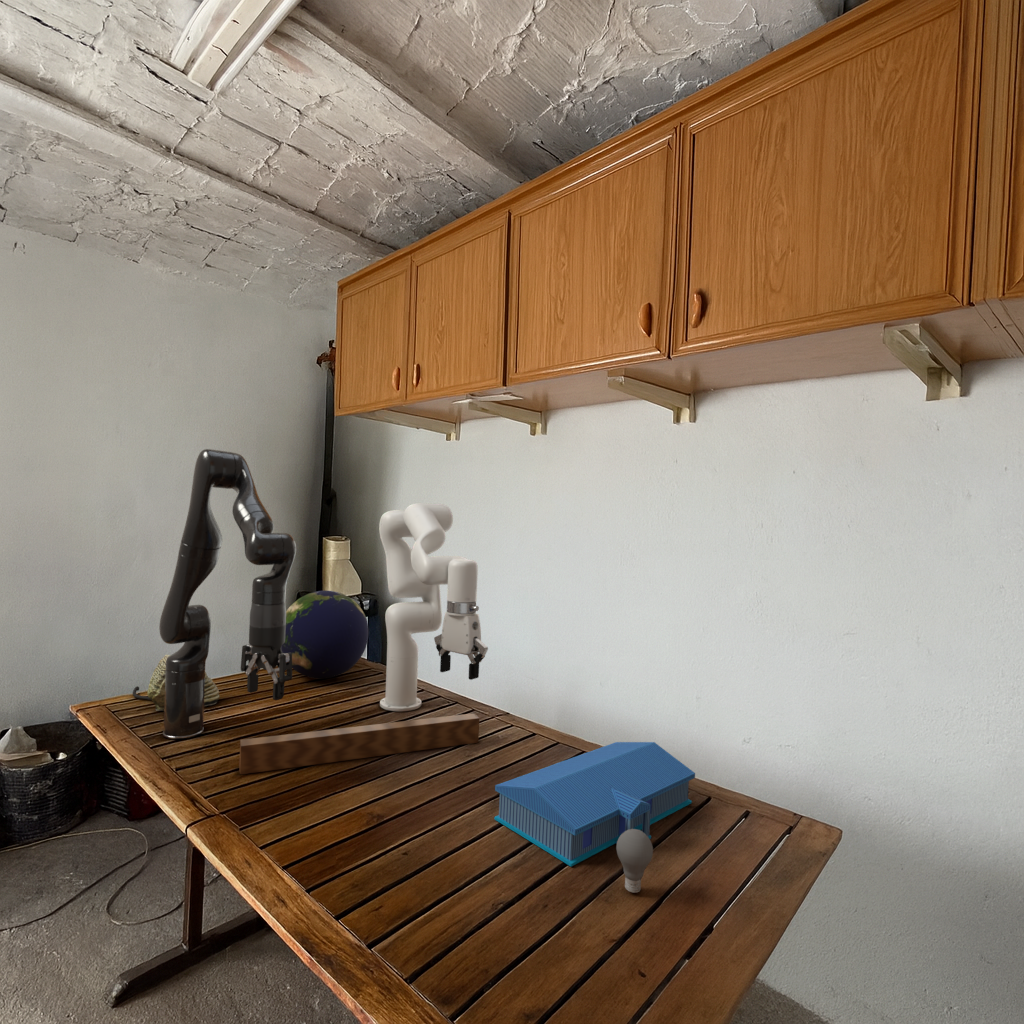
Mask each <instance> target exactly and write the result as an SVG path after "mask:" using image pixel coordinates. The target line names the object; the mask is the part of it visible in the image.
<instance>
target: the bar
mask: <svg viewBox="0 0 1024 1024" xmlns="http://www.w3.org/2000/svg"><path fill="white" fill-rule="evenodd" d="M479 736H480V717H479V716H478V715H477V714H476V713H463V714H455V715H448V716H447V715H446V716H437V717H430V718H420V719H411V720H402V721H393V722H384V723H377V724H367V725H359V726H349V727H348V726H347V727H340V728H333V729H322V730H313V731H305V732H297V733H288V734H281V735H280V734H279V735H278V734H277V735H270V736H269V735H268V736H260V737H253V738H243V739H240V740H239V760H238V761H239V763H238V769H239V775H247V774H254V773H255V774H256V773H262V772H269V771H276V770H277V771H278V770H284V769H291V768H301V767H308V766H313V765H323V764H330V763H336V762H343V761H352V760H359V759H365V758H367V759H368V758H374V757H382V756H387V755H397V754H402V753H410V752H418V751H425V750H433V749H439V748H447V747H456V746H462V745H470V744H476V743H479V742H480V741H479V739H480V737H479Z"/></svg>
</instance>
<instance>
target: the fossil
mask: <svg viewBox="0 0 1024 1024" xmlns="http://www.w3.org/2000/svg"><path fill="white" fill-rule="evenodd" d="M170 655H171V654H165V655H164V656H163V657H162V658H161V659H160V660H159V662H158V663H157V666H156V667H155V669H154V670H153V672H152V675H151V677H150V680H149V684H148V688H147V697H149V698H150V699H151V700H150V701H152V703H153V704H154V706H155V711H158V712H159V711H162V712H163V711H164V705H165V674H166V660H167V658H168V657H169V656H170ZM220 698H221V696H220V690H219V688H218V686H217V685H216V683H215V682H214V681H213V679H212V678H211V677H209V675H208V674H207V672H206V671H205V693H204V707H207V706H213V705H215V704H217V703H218V701H219V699H220Z"/></svg>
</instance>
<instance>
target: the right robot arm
mask: <svg viewBox="0 0 1024 1024" xmlns="http://www.w3.org/2000/svg"><path fill="white" fill-rule="evenodd" d="M453 523H454V516H453V512H452V510H451V508H450V507H449V506H448V505H447V504H444V503H434V502H433V503H432V502H416V503H415V502H414V503H412V504H410V505H408V506H407V507H406V508H405V509H391V510H388V511H386V512H384V513H383V514H382V515H381V517H380V519H379V525H378V529H379V537H380V541H381V544H382V547H383V549H384V552H385V559H386V576H387V587H388V592H389V594H390V596H391V597H393V598H396V599H412V598H413V599H416V598H420V599H421V600H422V601H403V602H396V603H395V602H394V603H393V604H391V605H390V606H388V607H387V609H386V611H385V615H384V617H385V618H384V621H385V628H386V642H387V643H386V670H385V671H386V673H385V694H384V696H385V697H383V698H381V699H380V701H379V707H380V708H381V709H382V710H386V711H388V712H389V711H390V712H411V711H414V710H417V709H419V708H420V707H422V700H421V699H420V698H419V697H418V675H419V645H418V643H417V641H416V640H415V639H414V638H413V636H412V635H413V634H419V633H433V632H436V631H438V630H439V629H440V628H441V626H442V628H441V634H438V635H436V636H435V637H434V638H433V640H434V644H435V648H436V650H437V652H438V657H440V660H439V661H440V662H439V672H440V673H445V672H446V673H447V672H449V671H451V663H452V662H451V661H452V659H451V658H452V655H451V653H456V654H461V655H463V656H467V657H468V659H469V661H470V663H469V664H468V679H469V680H470V681H472V680H476V679H478V678H479V676H480V663H482V661H483V659H484V658H486V654H487V652H488V650H489V647H488V646H487V645H486V644H485V643H483V641H482V630H481V629H482V628H481V620H480V614H478V613H477V612H478V611H479V609H480V607H479V605H477V599H478V573H479V566H478V562H477V561H476V560H473V559H469V558H466V557H465V556H461V555H431V554H432V553H435V552H437V551H438V550H440V549H441V548H442V547H443V546H444V544H445V542H446V539H447V535H446V533H447V532H448V531H450V529H451V528H452V526H453V525H454V524H453ZM404 538H412V539H414V543H413V545H412V548H411V546H410V545H409V543H408V542H407V541H406V539H404ZM430 555H431V556H430ZM444 585H445V586H446V585H447V590H446V591H447V593H446V611H445V613H444V616H443V609H442V608H443V607H442V598H441V597H442V596H441V586H444Z"/></svg>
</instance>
